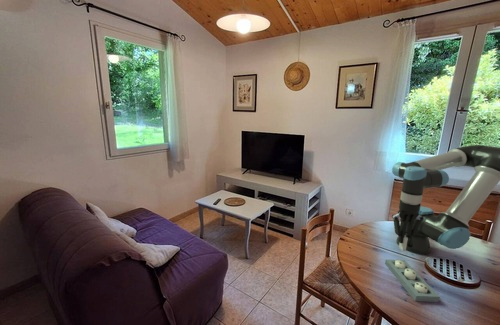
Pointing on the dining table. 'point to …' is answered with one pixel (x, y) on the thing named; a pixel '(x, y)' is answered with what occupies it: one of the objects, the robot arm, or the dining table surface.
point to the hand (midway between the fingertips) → (402, 248)
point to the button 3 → (421, 287)
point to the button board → (412, 283)
